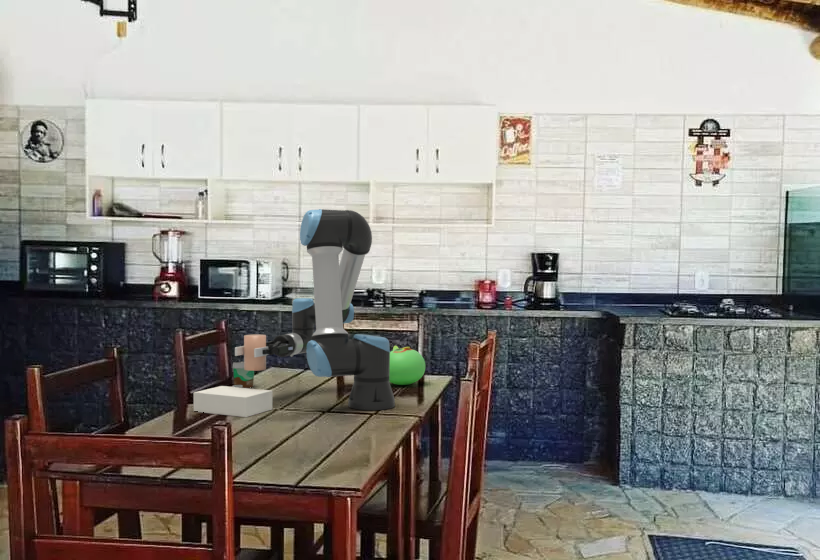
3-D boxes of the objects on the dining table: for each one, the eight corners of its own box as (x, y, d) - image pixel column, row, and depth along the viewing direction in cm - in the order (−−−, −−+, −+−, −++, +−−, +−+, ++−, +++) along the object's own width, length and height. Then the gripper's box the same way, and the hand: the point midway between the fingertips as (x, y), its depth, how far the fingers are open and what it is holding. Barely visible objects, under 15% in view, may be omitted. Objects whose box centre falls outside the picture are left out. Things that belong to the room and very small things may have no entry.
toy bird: (409, 389, 302) (409, 349, 301) (370, 385, 310) (370, 346, 310) (433, 383, 317) (433, 345, 317) (395, 379, 326) (395, 342, 325)
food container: (248, 390, 299) (248, 363, 298) (232, 390, 300) (232, 362, 299) (261, 385, 311) (261, 358, 310) (246, 384, 312) (246, 358, 312)
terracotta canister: (270, 368, 271) (270, 335, 271) (257, 371, 265) (257, 337, 265) (253, 367, 274) (253, 334, 274) (239, 369, 268) (239, 335, 268)
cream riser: (272, 409, 264) (272, 390, 264) (246, 417, 251) (245, 397, 251) (221, 404, 273) (221, 385, 272) (193, 411, 260) (193, 392, 260)
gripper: (311, 357, 281) (270, 366, 261) (263, 354, 290) (220, 361, 270) (311, 335, 281) (270, 342, 260) (263, 332, 290) (220, 339, 269)
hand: (245, 352), depth 265 cm, fingers closed on terracotta canister, 7 cm apart
